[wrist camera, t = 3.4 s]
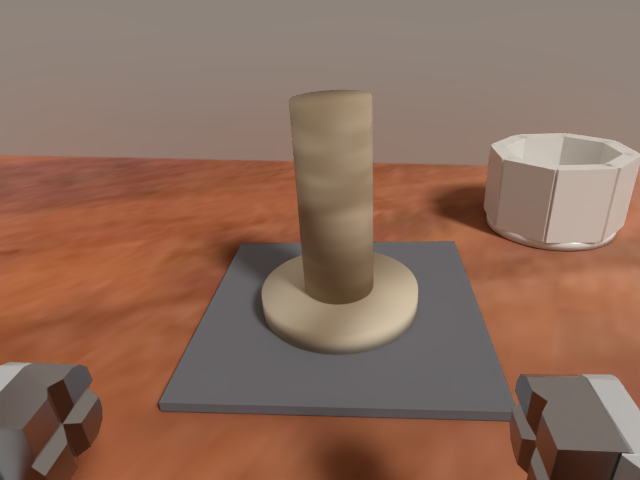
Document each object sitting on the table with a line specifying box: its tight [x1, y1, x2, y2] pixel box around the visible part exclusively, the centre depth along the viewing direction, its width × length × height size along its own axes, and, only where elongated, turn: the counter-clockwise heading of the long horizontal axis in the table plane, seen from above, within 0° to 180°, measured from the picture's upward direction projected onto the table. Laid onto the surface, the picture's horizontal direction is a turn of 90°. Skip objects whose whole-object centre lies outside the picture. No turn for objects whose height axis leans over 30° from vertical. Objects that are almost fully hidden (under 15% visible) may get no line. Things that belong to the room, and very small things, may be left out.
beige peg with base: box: [262, 90, 418, 355], centre depth 19 cm, size 7×7×9 cm
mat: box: [159, 241, 515, 421], centre depth 21 cm, size 12×12×1 cm
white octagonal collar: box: [484, 133, 640, 251], centre depth 27 cm, size 7×7×4 cm
